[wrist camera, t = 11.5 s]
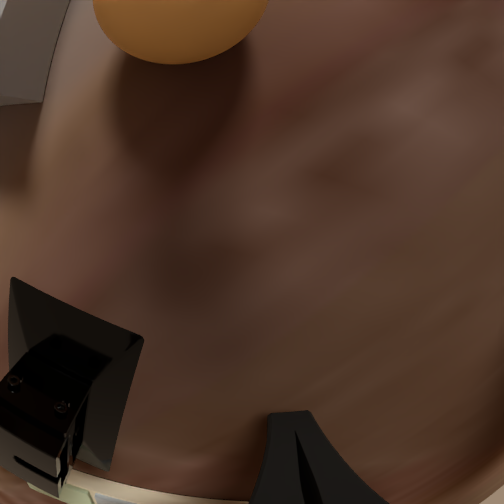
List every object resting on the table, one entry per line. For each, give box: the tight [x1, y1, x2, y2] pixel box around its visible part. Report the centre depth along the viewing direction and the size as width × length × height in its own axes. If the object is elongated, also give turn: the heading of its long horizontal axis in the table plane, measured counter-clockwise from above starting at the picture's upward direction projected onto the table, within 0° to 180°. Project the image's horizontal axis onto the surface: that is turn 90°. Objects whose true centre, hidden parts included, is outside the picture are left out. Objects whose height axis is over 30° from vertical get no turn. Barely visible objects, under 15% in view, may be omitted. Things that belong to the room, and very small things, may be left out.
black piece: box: [0, 277, 144, 498], centre depth 9 cm, size 12×7×5 cm, turn 156°
